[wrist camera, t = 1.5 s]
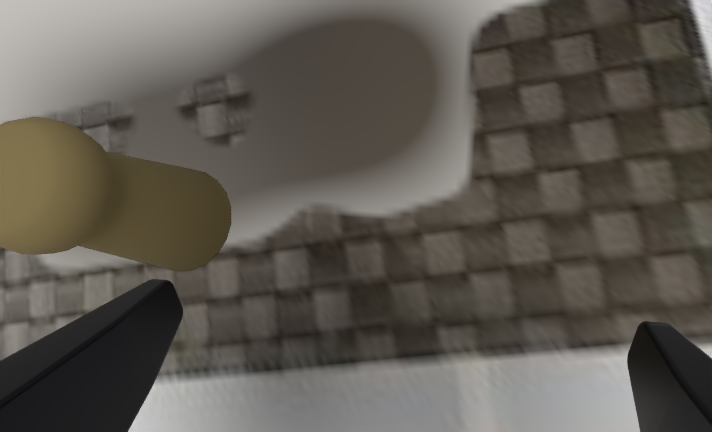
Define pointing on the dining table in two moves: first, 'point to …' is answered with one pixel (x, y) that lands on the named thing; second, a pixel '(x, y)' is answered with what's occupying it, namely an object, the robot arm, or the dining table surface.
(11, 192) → the olive game pawn
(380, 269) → the dining table surface
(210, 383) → the dining table surface
